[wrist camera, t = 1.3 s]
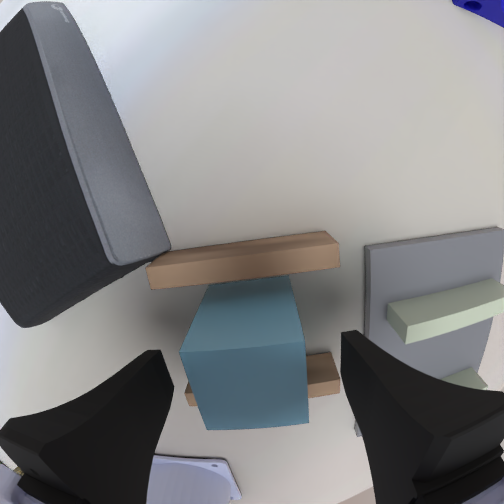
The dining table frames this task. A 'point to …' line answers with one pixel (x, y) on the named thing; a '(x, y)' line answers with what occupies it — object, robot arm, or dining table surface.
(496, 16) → the blue cradle holder
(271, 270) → the cradle
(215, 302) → the blue rectangular block
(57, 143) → the external hard drive
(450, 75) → the dining table surface
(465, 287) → the dock
